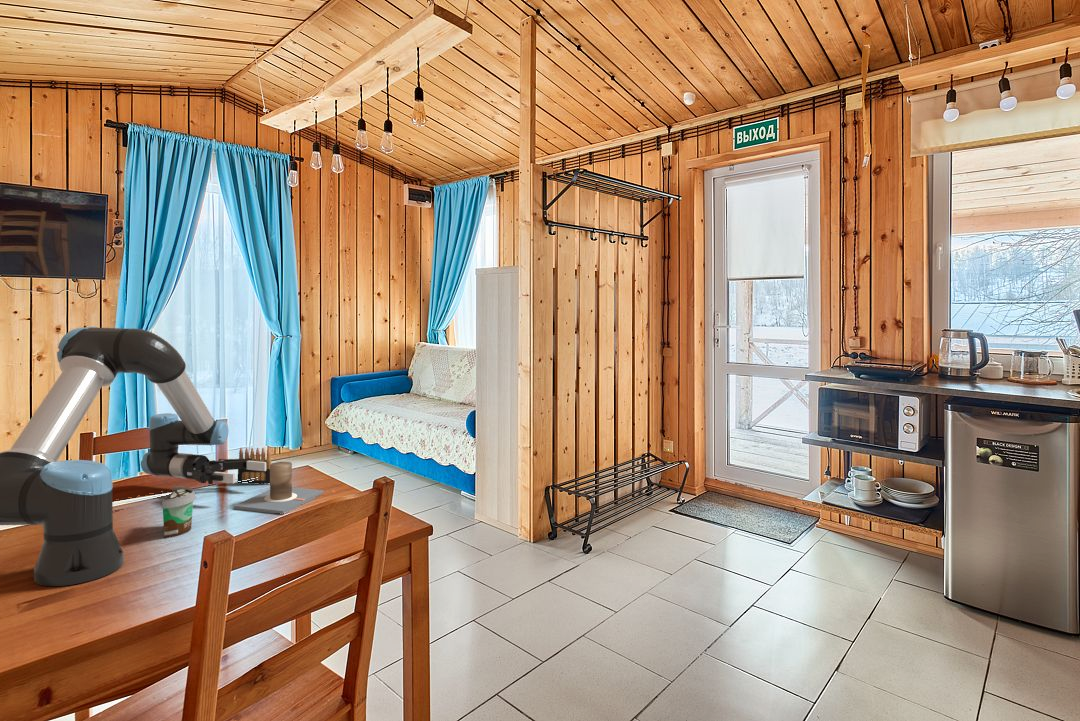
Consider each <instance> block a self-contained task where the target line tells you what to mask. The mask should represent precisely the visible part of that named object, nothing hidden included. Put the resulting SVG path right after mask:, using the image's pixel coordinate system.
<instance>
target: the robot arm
mask: <svg viewBox="0 0 1080 721" xmlns="http://www.w3.org/2000/svg"><path fill="white" fill-rule="evenodd" d="M57 349H58V351H56V357H57V358H56V359H57V362H58V364H59V366H58V367H59V369H60V371H61V374H59V376H58V377H57V379H56V380H55V382H54V384H53V385H52V386H51V388H50V390H49V391H48V393H47V394H46V395H45V397H44V399H43V400H42V402H41V403H40V404H39V406H38V407H37V409H36V411H34V413H33V415H32V416H31V418H30V419H29V421H28V422H27V423H26V425H25V427H24V429H23V430H22V431H21V433H20V434H19V436H17V438H16V440H15V442H14V443H13V445H12V446H11V448H10V449H8V450H4V451H3V450H2V451H0V526H38V525H39V526H42V530H43V544H42V546H41V549H40V552H39V555H38V559H37V561H36V564H35V566H34V569H33V580H34V581H33V582H35V583H36V584H38V585H40V586H45V587H63V586H71V585H76V584H77V585H78V584H83V583H86V582H90V581H94V580H97V579H100V578H103V577H106V576H109V575H110V574H112V573H114V572H116V571H117V570H119V569H121V567H122V566H123V565H124V561H125V560H124V559H125V558H124V557H125V556H124V555H125V554H124V551H123V548H122V546H121V544H120V543H119V542H120V541H119V540H118V537H117V536H116V534H115V532H114V525H113V524H114V518H113V516H114V514H113V512H114V511H113V508H114V507H113V487H114V483H113V480H112V479H113V478H112V473H111V469H110V468H109V467H108V466H107V465H106V464H104V463H102V462H99V461H94V460H87V459H86V460H84V459H74V460H69V459H68V460H67V459H66V460H59V459H60V457H61V456H62V454H63V452H64V451H65V449H66V448H67V447H66V446H67V445H68V444H69V442H70V440H71V439H72V436H73V435H74V433H75V432H76V430H77V428H78V427H79V425H80V424H81V422H82V420H83V419H84V417H85V415H86V413H87V412H88V410H89V408H90V407H91V405H92V403H93V401H94V400H95V399H96V396H97V395H98V394H99V392H100V390H101V388H102V387H107V386H109V385H112V383H113V381H114V380H115V378H116V377H117V375H118V374H119V373H122V374H133V373H134V374H139V375H140V374H141V375H143V376H145V377H146V379H147V380H148V382H151V383H153V384H156V385H157V387H158V389H159V390H160V391H161V393H162V394H163V395H164V397H165V398H166V399H167V401H168V404H170V406H171V407H172V409H173V410H174V411H175V413H171V412H170V413H169V412H168V413H167V412H166V413H157V414H153V415H152V416H151V417H150V418H149V426H148V428H149V429H148V432H149V451H147V452H146V453H144V455H143V456H142V460H141V461H140V468H141V470H142V472H144V473H145V474H148V475H152V476H156V477H169V478H180V479H181V480H185V479H188V480H195V481H197V482H199V483H201V484H206V483H207V482H208V483H207V485H213V483H214V482H215V483H217V482H218V483H224V484H225V483H226V484H235V483H236V473H233V472H232V473H231V472H226V471H233V470H238V469H245V468H247V470H257V471H266V462H258V461H252V459H251V458H250V457H249V458H248V459H245V458H244V459H239V458H218V460H210V459H209V457H208V456H205V455H203V454H193V453H183V452H179V446H184V445H185V446H186V445H187V446H209V447H210V446H220V445H224V444H225V443H226V441H227V439H228V437H229V425H228V424H227V422H225V421H220V420H215V418H214V417H213V416H212V414H211V412H210V411H209V408H208V407H207V405H206V404H205V402H204V400H203V399H202V397H201V395H200V394H199V392H198V390H197V389H196V387H195V386H194V384H193V382H192V380H191V379H190V377H189V375H188V373H187V372H186V367H187V366H186V362H185V360H184V359H183V357H182V356H181V354H180V353H179V351H178V350H177V349H176V348H175V347H174V346H172V345H171V344H170V343H169V342H168V341H167V340H165V339H164V338H162V337H161V336H159V335H157V334H155V333H154V332H151V331H149V330H146V329H141V328H123V327H121V328H119V327H118V328H117V327H96V326H87V327H78V328H74V329H71V330H69V331H68V332H67V333H65V334H63V336H62V337H61V339H60V340H59V342H58V345H57ZM179 419H180V420H179Z"/></svg>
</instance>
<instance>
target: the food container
mask: <svg viewBox="0 0 1080 721" xmlns="http://www.w3.org/2000/svg"><path fill="white" fill-rule="evenodd" d="M196 499H197V497H196V493H195V491H194V489H193V488H191V487H189V486H172V491H171V493H169V494H168V495H167V498H166V499H162V504H161V509H162V516H163V517H162V519H163V520H162V522H163V538H164V539H169V537H170V538H174V537H179V536H181V535H184V534H186V533H189V532H190V531H191V530H192V523H193V508H194V502H195V500H196Z"/></svg>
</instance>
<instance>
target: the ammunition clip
mask: <svg viewBox="0 0 1080 721" xmlns="http://www.w3.org/2000/svg"><path fill="white" fill-rule="evenodd" d="M238 454H239V455H238V459H248V458H251V459H252V461H258V462H266V471H257V470H247V468H245V469H237V483H242V482H248V483H259V484H258V485H265V484H264V483H270V464H272V456H271V455H272V454H271V449H270V447H268V448H267V451H266V450H265V448H264V447H262V449H261V452H260V448H259V447H256V451H255V449H254V447H251V449H250V452H249V449H248V447H246V448H245V450H244V451H243V447H240V448H239V452H238ZM256 477H258V478H256ZM251 478H255V479H251ZM247 479H250V480H247ZM257 479H258V480H257ZM242 480H247V481H242ZM252 480H254V481H252ZM238 481H241V482H238ZM249 481H252V482H249ZM261 483H263V484H261Z"/></svg>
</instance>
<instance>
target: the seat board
mask: <svg viewBox="0 0 1080 721" xmlns="http://www.w3.org/2000/svg"><path fill="white" fill-rule="evenodd" d="M323 492H324V493H325V490H323V489H313V488H303V487H294V486H292V497H290V498H288V499H284V500H272V499H270V489H268V490H266V491H264V492H262V493H259V494H257V495H254V496H253V497H250V498H248V499H246V500H243V501H241V502H239V503H236V504H234V505H233V510H237V511H238V510H239V511H249V512H257V513H266V514H273V513H281V514H280V515H285V514H287V513H288V512H287V511H289V510H291V509H293V510H295V509H297V508H299V507H301V506H302V505H301V504H303V505H304V503H305V504H306V502H307V503H308V502H311V501H312V500H314V499H316V498H317V497H316V496H318V495H320V494H322V493H323ZM322 495H323V494H322ZM320 496H321V495H320ZM315 497H316V498H315ZM318 497H319V496H318ZM300 505H301V506H300ZM298 506H299V507H298ZM294 508H295V509H294ZM291 511H292V510H291ZM284 512H286V513H284ZM289 512H290V511H289ZM282 513H284V514H282Z"/></svg>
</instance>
